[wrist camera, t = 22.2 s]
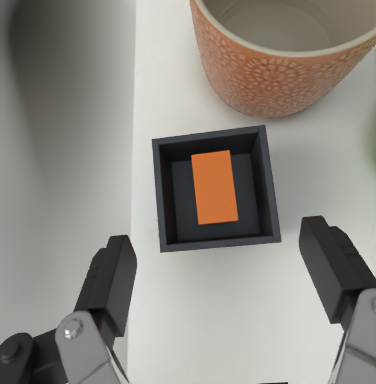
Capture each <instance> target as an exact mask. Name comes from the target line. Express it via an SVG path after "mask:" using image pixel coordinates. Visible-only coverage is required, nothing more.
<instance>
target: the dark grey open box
mask: <svg viewBox="0 0 376 384" xmlns="http://www.w3.org/2000/svg"><path fill="white" fill-rule="evenodd" d="M152 148H153V161H154V175H155V188H156V201H157V214H158V227H159V240H160V252H161V253H162V252H174V251H185V250H197V249H208V248H220V247H231V246H243V245H254V244H266V243H278V242H281V234H280V227H279V220H278V213H277V206H276V199H275V192H274V185H273V177H272V170H271V163H270V156H269V149H268V142H267V135H266V128H265V125H260V126H252V127H244V128H237V129H229V130H221V131H213V132H205V133H198V134H190V135H182V136H174V137H166V138H159V139H152ZM226 150H230V157H231V165H232V173H233V181H234V189H235V196H236V204H237V212H238V221H235V222H233V223H223V224H213V225H199V224H198V214H197V205H196V195H195V186H194V176H193V167H192V158H191V155H195V154H203V153H211V152H219V151H226Z"/></svg>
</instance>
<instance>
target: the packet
mask: <svg viewBox="0 0 376 384" xmlns="http://www.w3.org/2000/svg"><path fill="white" fill-rule="evenodd" d="M191 158H192V167H193V176H194V186H195V195H196V205H197V214H198V224H199V225H213V224H223V223H233V222H235V221H238V212H237V204H236V196H235V189H234V181H233V173H232V165H231V157H230V150H226V151H219V152H211V153H203V154H195V155H191Z"/></svg>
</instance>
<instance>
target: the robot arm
mask: <svg viewBox="0 0 376 384" xmlns="http://www.w3.org/2000/svg"><path fill="white" fill-rule="evenodd" d="M299 248H300V252H301V255H302V257H303V260H304V262H305V265H306V267H307V269H308V272H309V274H310V276H311V279H312V281H313V283H314V286H315V288H316V290H317V293H318V295H319V297H320V300H321V302H322V304H323V307H324V309H325V311H326V314H327V316H328V318H329V321H330V323H331V324H336V323H341V326H342V328H343V330H344V333H343V336H342V339H341V343H340V346H339V349H338V352H337V356H336V359H335V362H334V365H333V369H332V372H331V375H330V378H329V381H328V384H376V278H375V277H374V275H373V274H372V272H371V271H370V269H369V268H368V266H367V265H366V263H365V261H364V260H363V258H362V257H361V255H359V252H358V251H357V249H356V248H355V246H353V243H352V241H351V240H350V238H349V237H348V235H347V234H346V233H344V232H343V231H342V230H341V229H339V228H338V227H337V226H331V227H329V226H328V224H327V222H326V221H325V219H324V218H323V216H321V215H320V216H310V217H303V218H302V223H301V229H300V236H299ZM136 269H137V258H136V254H135V252H134V249H133V247H132V244H131V242H130V239H129V237H128V235H119V236H111V237H110V238H109V241H108V244H107V247H106V248H101V249H100V250H99V251H98V252H97V253H96V255H95V256H94V257H93V259H92V262H91V265H90V269H89V270H88V273H87V278H85V281H84V284H83V287H82V290H81V292H80V295H79V298H78V301H77V303H76V306H75V309H74V311H73V313H71V314H69V315H68V316H67V317H65V318H64V319H63V320H62V321H61V323H60V324H59V326H58V327H57V328H56V329H54V330H51V331H49V332H46V333H44V334H42V335H39V336H36V337H33V338H32V337H31V336H30V335H29V334H28V333H18V334H15V335H13V336H11V337H9V338H8V339H6V340H5V341H4V342H3V343H2V344H1V345H0V384H66V383H68V382H69V384H131V382H130V380H129V378H128V376H127V374H126V372H125V370H124V368H123V366H122V364H121V362H120V360H119V358H118V356H117V354H116V352H115V350H114V348H113V345H114V340H115V337H124V332H125V327H126V322H127V317H128V311H129V306H130V301H131V296H132V290H133V285H134V280H135V275H136ZM262 384H288V382H283V383H262Z"/></svg>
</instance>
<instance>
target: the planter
mask: <svg viewBox="0 0 376 384" xmlns="http://www.w3.org/2000/svg"><path fill="white" fill-rule="evenodd" d="M189 1H190V7H191V13H192V18H193V24H194V29H195V35H196V40H197V44H198V49H199V53H200V57H201V60H202V64H203V67H204V70H205V72H206V75H207V78H208V80H209V82H210V84H211V86H212V88H213V89H214V91H215V92H216V93H217V94H218V96H219V97H220V98H221V99H222V100H223V101H224V102H225V103H226V104H228V105H229V106H230V107H232V108H234V109H235V110H237V111H239V112H241V113H244V114H246V115H250V116H254V117H260V118H276V117H283V116H287V115H291V114H293V113H296V112H299V111H301V110H303V109H305V108H307V107H308V106H310V105H312V104H313V103H315V102H316V101H317V100H319V99H320V98H321V97H323V96H324V95H325V94H326V93H328V92H329V91H330V90H331V89H332V88H333V87H334V86H335V85H337V84H338V83H339V82H340V81H341V80H342V79H343V78H344V77H345V76H346V75H347V74H348V73H349V72H350V71H351V70H352V69H353V68H354V67H355V66H356V65H357V64H358V63H359V62H360V61H361V60H362V59H363V58H364V57H365V56H366V54H367V53H368V52H369V51H370V50H371V49H372V48H373V47H374V46H375V45H376V0H189Z"/></svg>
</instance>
